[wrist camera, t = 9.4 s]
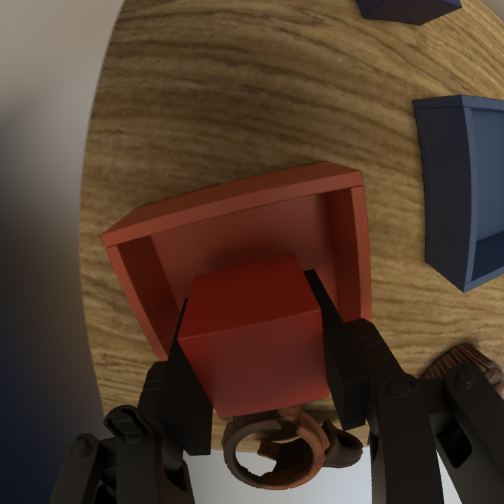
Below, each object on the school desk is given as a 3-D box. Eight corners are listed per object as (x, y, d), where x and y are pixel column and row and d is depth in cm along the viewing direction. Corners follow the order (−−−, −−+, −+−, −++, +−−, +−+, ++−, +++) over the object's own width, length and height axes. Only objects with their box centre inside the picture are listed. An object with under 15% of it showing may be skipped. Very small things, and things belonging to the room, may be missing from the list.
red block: (194, 274, 12) (176, 339, 8) (293, 251, 12) (321, 309, 8) (222, 349, 14) (219, 418, 10) (307, 330, 14) (329, 397, 10)
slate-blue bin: (412, 100, 13) (461, 94, 8) (505, 106, 12) (546, 110, 8) (424, 262, 17) (463, 293, 12) (509, 231, 16) (543, 251, 12)
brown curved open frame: (232, 442, 24) (209, 488, 16) (243, 363, 25) (217, 396, 17) (346, 455, 22) (356, 504, 14) (369, 377, 23) (393, 413, 15)
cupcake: (418, 412, 24) (449, 475, 15) (399, 380, 21) (442, 464, 12) (480, 364, 23) (520, 418, 13) (476, 319, 19) (535, 384, 10)
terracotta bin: (135, 208, 14) (99, 235, 10) (327, 161, 14) (362, 170, 10) (194, 355, 18) (186, 405, 14) (346, 322, 18) (369, 367, 14)
